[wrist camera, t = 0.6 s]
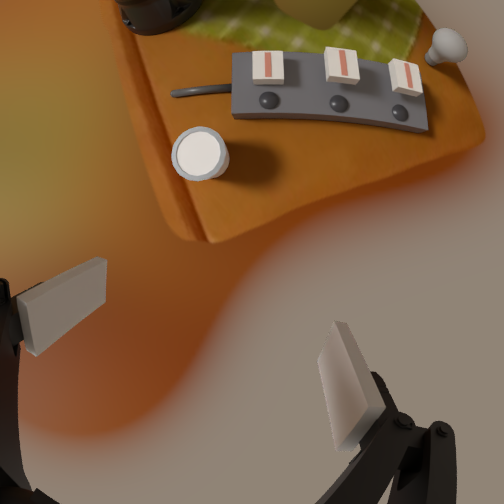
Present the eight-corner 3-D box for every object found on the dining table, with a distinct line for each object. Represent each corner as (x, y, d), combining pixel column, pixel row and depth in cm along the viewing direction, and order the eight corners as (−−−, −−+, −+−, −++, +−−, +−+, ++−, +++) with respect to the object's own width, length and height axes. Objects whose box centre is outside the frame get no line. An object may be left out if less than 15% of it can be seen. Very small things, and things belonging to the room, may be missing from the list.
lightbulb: (410, 60, 31) (440, 34, 20) (419, 41, 29) (447, 16, 19) (437, 82, 31) (471, 62, 20) (444, 62, 30) (476, 42, 19)
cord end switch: (253, 57, 31) (252, 50, 28) (282, 57, 30) (282, 50, 28) (253, 84, 32) (252, 78, 30) (283, 84, 31) (284, 78, 29)
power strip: (173, 68, 34) (166, 60, 31) (412, 78, 32) (421, 72, 28) (170, 124, 37) (162, 119, 33) (419, 133, 34) (429, 129, 31)
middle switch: (323, 53, 28) (326, 46, 26) (352, 56, 28) (356, 50, 26) (326, 81, 29) (329, 75, 27) (355, 84, 29) (360, 79, 27)
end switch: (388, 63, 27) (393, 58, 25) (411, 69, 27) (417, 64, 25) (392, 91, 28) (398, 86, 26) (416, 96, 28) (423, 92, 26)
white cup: (244, 159, 37) (237, 152, 30) (209, 192, 39) (196, 192, 32) (211, 127, 36) (199, 115, 30) (178, 160, 38) (160, 155, 31)
